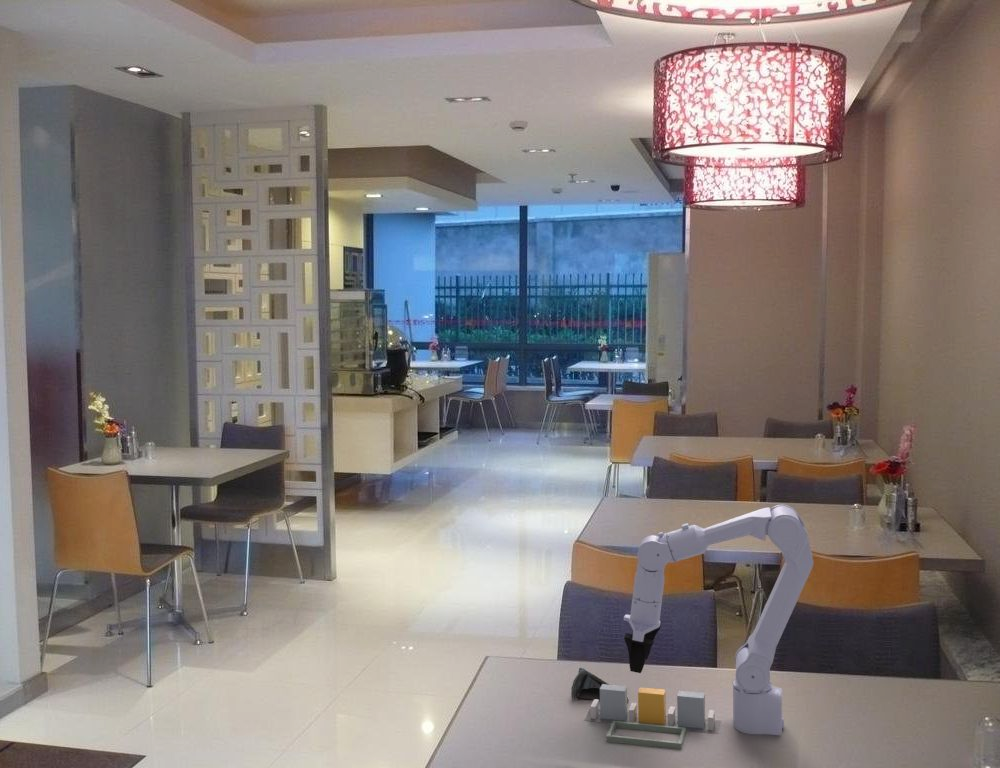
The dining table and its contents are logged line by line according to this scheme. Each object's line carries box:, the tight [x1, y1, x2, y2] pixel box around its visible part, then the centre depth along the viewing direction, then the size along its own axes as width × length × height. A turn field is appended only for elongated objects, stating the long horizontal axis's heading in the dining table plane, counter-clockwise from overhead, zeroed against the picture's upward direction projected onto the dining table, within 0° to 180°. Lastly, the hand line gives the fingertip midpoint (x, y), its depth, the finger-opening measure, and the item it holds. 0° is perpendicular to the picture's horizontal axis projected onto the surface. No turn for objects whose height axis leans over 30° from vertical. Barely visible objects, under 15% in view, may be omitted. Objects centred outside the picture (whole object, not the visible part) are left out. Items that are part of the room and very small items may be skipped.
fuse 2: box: [676, 690, 706, 728], centre depth 197 cm, size 5×3×6 cm, turn 73°
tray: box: [605, 721, 687, 750], centre depth 192 cm, size 14×7×2 cm, turn 73°
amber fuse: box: [637, 687, 667, 725], centre depth 199 cm, size 5×3×6 cm, turn 73°
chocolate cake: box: [570, 667, 630, 705], centre depth 213 cm, size 10×7×12 cm
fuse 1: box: [599, 683, 629, 721], centre depth 201 cm, size 5×3×6 cm, turn 73°
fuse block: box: [583, 698, 722, 735], centre depth 199 cm, size 26×6×4 cm, turn 73°
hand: (639, 664), depth 199 cm, fingers open, 7 cm apart
